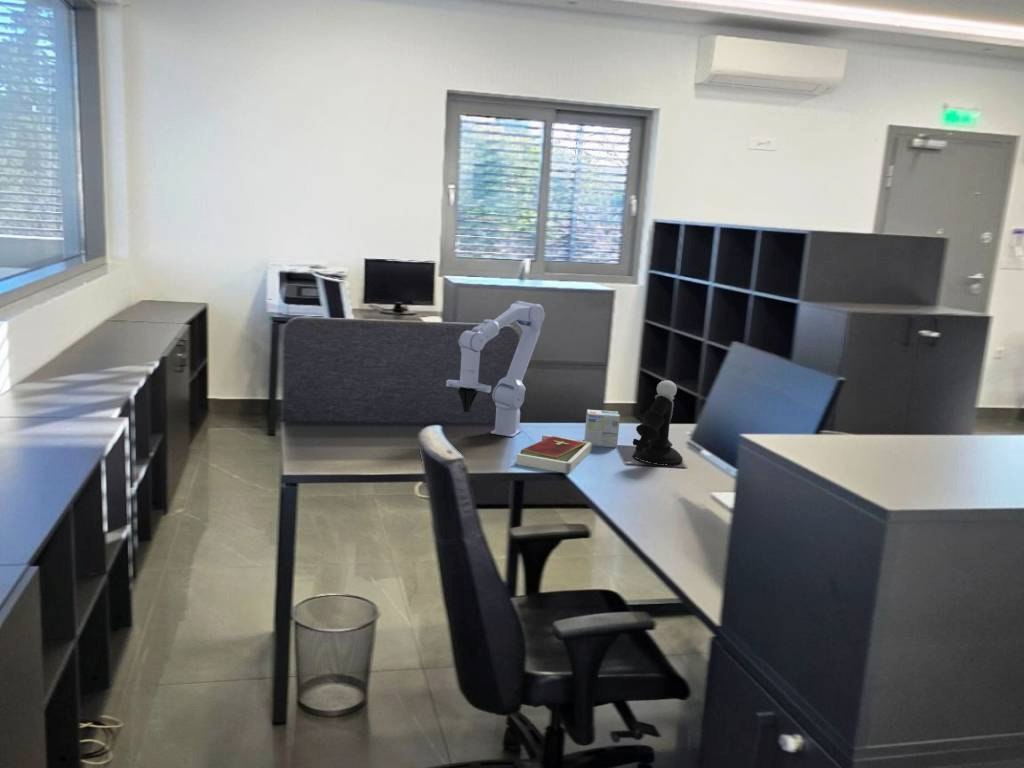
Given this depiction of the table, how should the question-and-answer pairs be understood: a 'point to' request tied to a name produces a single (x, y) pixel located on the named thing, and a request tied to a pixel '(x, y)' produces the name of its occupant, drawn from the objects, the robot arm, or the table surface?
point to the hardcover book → (554, 448)
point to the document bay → (555, 464)
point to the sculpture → (658, 429)
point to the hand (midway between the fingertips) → (466, 411)
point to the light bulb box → (602, 428)
